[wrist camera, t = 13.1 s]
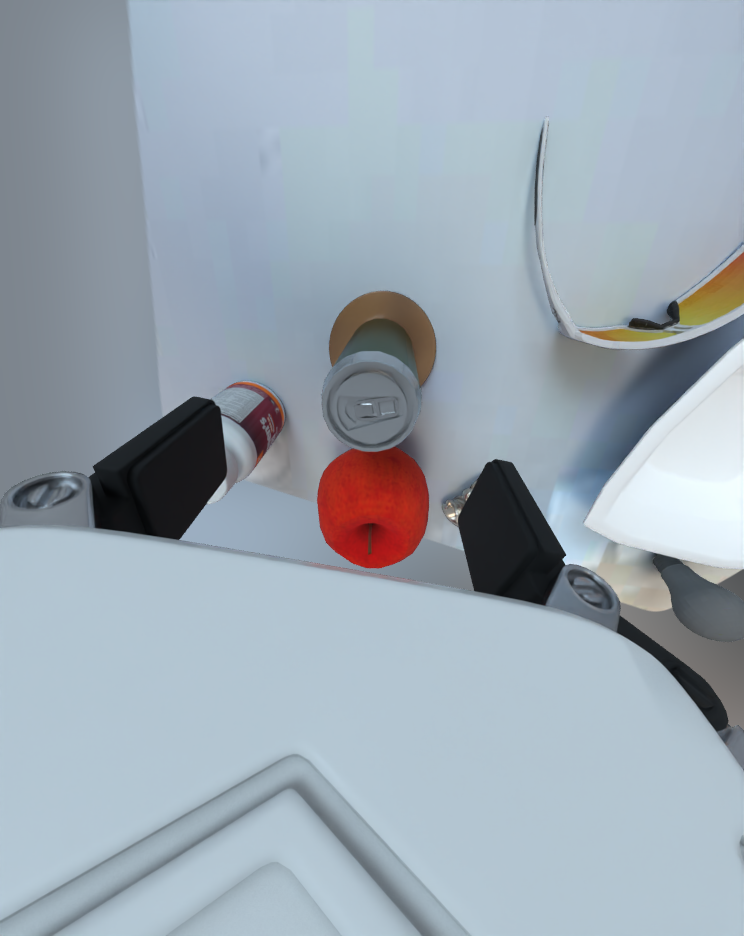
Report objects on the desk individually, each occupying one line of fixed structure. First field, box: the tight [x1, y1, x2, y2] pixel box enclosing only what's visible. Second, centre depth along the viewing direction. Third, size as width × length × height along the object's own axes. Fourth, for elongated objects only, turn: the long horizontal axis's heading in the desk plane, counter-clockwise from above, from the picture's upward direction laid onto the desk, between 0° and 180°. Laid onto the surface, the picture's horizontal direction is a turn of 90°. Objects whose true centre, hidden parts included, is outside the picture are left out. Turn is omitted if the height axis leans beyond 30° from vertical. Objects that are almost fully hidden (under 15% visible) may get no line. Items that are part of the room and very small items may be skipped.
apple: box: [317, 446, 429, 568], centre depth 27 cm, size 10×10×12 cm
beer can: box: [321, 319, 422, 452], centre depth 20 cm, size 5×5×12 cm
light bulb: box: [653, 554, 744, 642], centre depth 32 cm, size 6×6×10 cm
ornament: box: [442, 481, 477, 527], centre depth 32 cm, size 8×7×4 cm
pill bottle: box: [207, 381, 285, 504], centre depth 24 cm, size 6×6×11 cm
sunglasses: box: [535, 116, 744, 350], centre depth 18 cm, size 14×15×5 cm
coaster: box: [329, 291, 436, 387], centre depth 25 cm, size 9×9×1 cm
